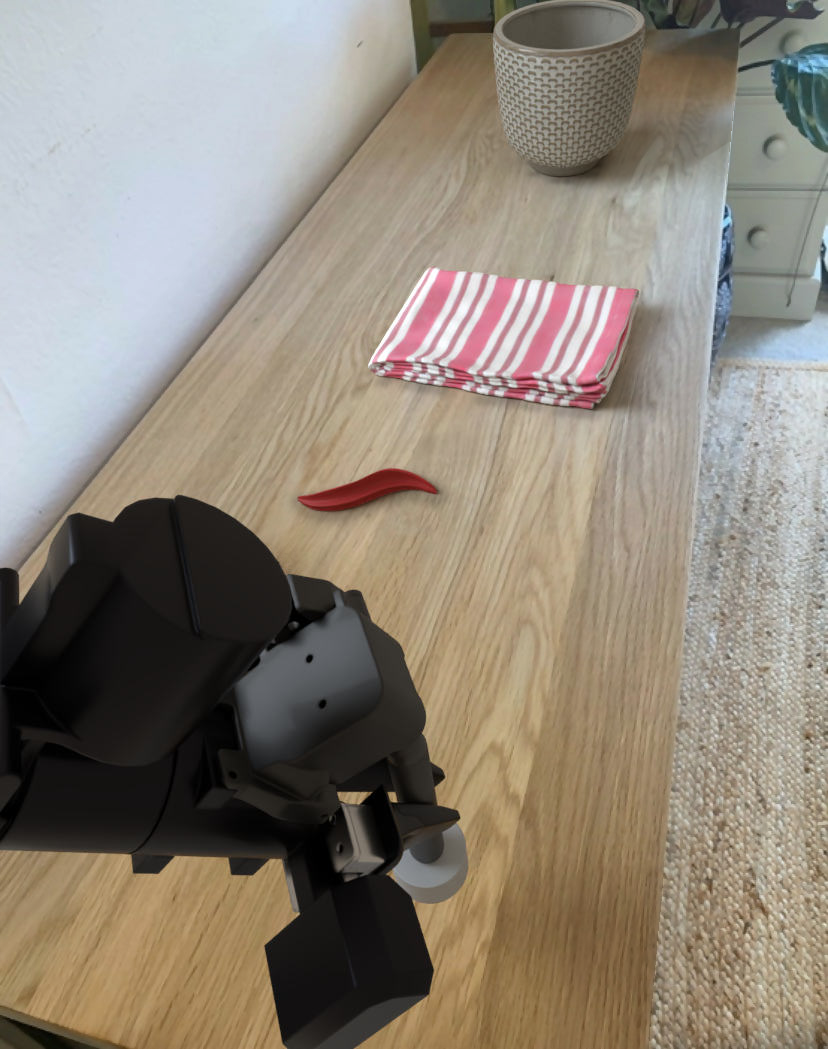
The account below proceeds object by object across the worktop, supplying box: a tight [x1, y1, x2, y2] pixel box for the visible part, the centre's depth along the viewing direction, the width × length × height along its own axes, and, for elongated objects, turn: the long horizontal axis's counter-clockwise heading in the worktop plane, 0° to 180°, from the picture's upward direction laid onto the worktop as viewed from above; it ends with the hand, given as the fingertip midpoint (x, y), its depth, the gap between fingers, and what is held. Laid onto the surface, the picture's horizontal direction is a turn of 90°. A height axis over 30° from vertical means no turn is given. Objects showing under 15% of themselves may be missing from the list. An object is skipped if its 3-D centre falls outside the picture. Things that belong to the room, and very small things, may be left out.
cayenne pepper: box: [297, 467, 438, 512], centre depth 72 cm, size 12×5×2 cm, turn 83°
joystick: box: [386, 732, 469, 905], centre depth 40 cm, size 4×4×14 cm
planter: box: [492, 0, 646, 177], centre depth 103 cm, size 17×17×16 cm
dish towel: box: [367, 266, 640, 410], centre depth 84 cm, size 17×23×4 cm
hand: (446, 799), depth 40 cm, fingers closed on joystick, 2 cm apart
